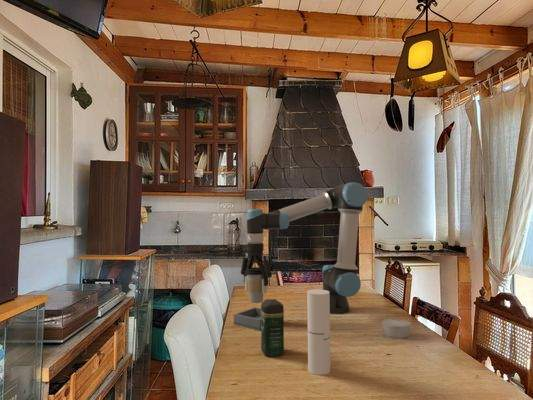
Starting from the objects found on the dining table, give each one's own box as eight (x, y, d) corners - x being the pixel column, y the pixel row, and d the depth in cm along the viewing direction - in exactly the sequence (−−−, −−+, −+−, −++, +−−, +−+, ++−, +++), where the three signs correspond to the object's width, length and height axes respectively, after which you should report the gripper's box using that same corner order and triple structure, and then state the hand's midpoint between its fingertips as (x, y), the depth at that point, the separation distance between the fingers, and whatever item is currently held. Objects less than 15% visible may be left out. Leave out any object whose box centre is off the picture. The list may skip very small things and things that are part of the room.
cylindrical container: (306, 365, 121) (305, 289, 121) (327, 364, 121) (326, 289, 122) (310, 375, 114) (309, 294, 114) (333, 374, 114) (332, 294, 115)
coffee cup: (263, 304, 162) (263, 270, 162) (243, 303, 164) (242, 270, 164) (268, 299, 171) (267, 267, 172) (248, 298, 173) (248, 266, 174)
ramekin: (410, 332, 153) (410, 319, 154) (412, 341, 143) (411, 327, 143) (382, 329, 157) (382, 317, 157) (382, 338, 146) (381, 324, 147)
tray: (280, 322, 168) (280, 312, 168) (259, 330, 156) (259, 320, 156) (254, 316, 177) (254, 307, 177) (233, 324, 165) (233, 314, 166)
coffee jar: (286, 356, 129) (286, 303, 129) (264, 358, 127) (264, 304, 128) (280, 346, 138) (279, 297, 139) (259, 348, 137) (259, 298, 137)
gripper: (232, 242, 172) (233, 289, 172) (269, 244, 159) (269, 296, 158) (243, 240, 178) (243, 287, 178) (279, 242, 164) (280, 293, 164)
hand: (256, 291), depth 168 cm, fingers closed on coffee cup, 9 cm apart
